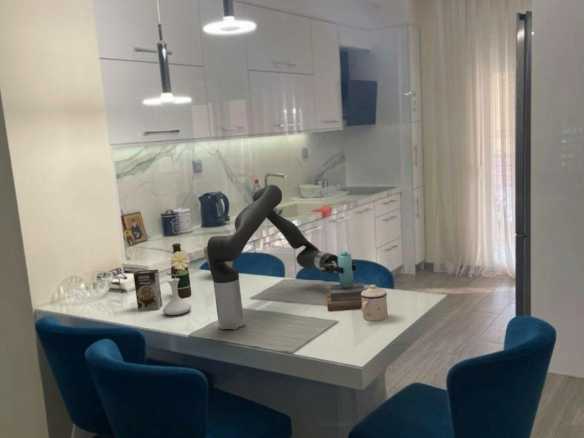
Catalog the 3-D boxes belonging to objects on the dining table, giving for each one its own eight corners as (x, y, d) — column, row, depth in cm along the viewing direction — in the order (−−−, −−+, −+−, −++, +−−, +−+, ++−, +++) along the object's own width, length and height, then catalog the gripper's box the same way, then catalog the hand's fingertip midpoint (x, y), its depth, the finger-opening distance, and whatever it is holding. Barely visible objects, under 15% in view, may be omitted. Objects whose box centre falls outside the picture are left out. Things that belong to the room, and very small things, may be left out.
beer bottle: (170, 298, 246) (163, 245, 243) (181, 293, 253) (175, 242, 250) (184, 299, 243) (177, 245, 239) (195, 294, 250) (188, 242, 246)
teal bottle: (353, 286, 211) (351, 253, 209) (340, 287, 211) (337, 254, 209) (353, 283, 216) (350, 250, 214) (339, 284, 216) (337, 251, 215)
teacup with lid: (371, 311, 202) (368, 280, 200) (393, 315, 196) (391, 283, 194) (352, 322, 193) (350, 289, 191) (375, 325, 187) (372, 292, 185)
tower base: (370, 308, 206) (369, 292, 205) (327, 311, 207) (326, 295, 207) (367, 295, 222) (366, 281, 221) (327, 298, 223) (326, 284, 222)
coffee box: (137, 311, 231) (132, 274, 229) (142, 307, 237) (137, 270, 235) (159, 309, 231) (154, 272, 228) (163, 305, 237) (158, 268, 235)
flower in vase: (163, 319, 217) (155, 257, 213) (162, 311, 228) (154, 252, 224) (197, 313, 220) (189, 252, 217) (194, 306, 231) (187, 247, 227)
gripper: (310, 256, 222) (332, 263, 207) (341, 250, 228) (364, 256, 213) (312, 274, 223) (333, 282, 208) (342, 267, 229) (365, 275, 214)
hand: (349, 269), depth 210 cm, fingers closed on teal bottle, 5 cm apart
